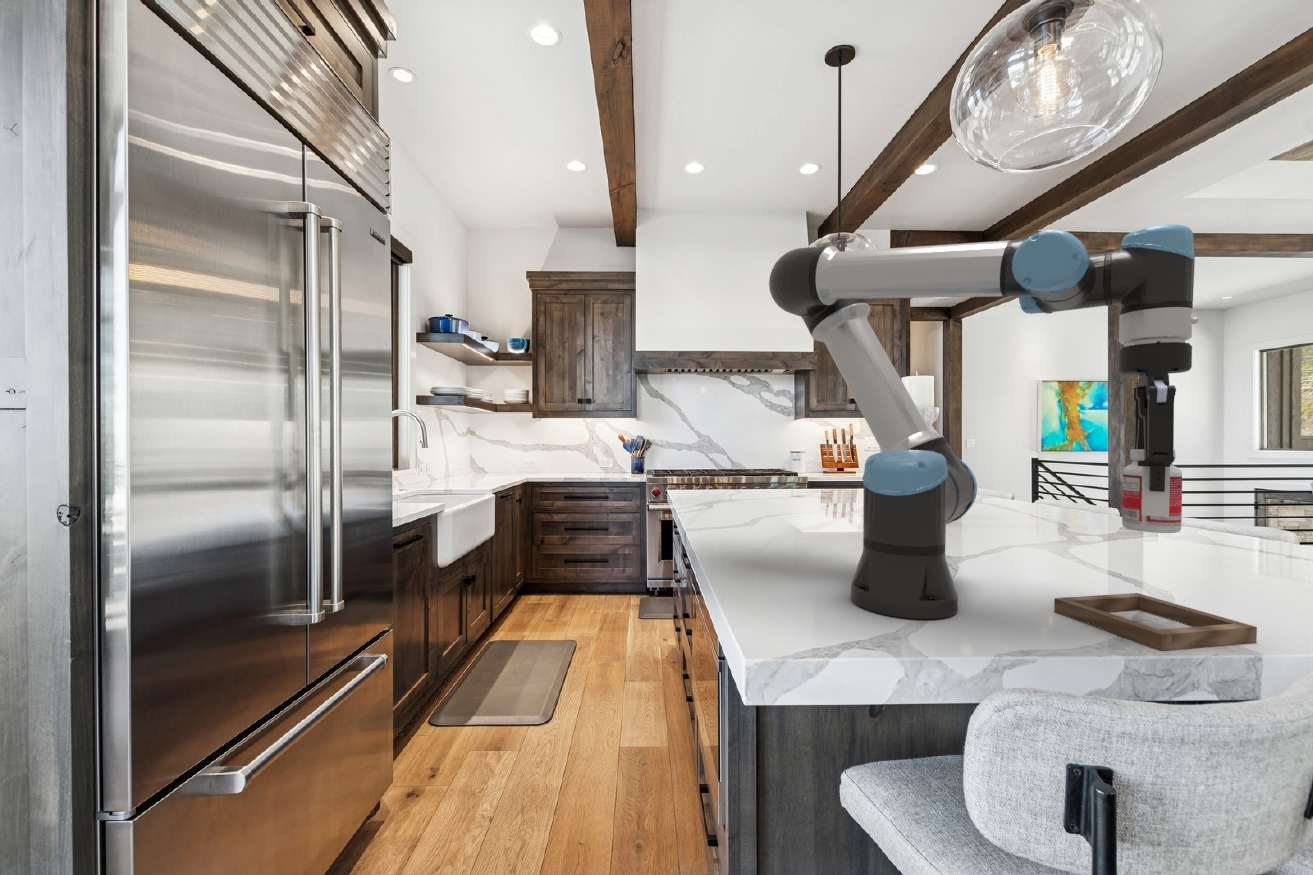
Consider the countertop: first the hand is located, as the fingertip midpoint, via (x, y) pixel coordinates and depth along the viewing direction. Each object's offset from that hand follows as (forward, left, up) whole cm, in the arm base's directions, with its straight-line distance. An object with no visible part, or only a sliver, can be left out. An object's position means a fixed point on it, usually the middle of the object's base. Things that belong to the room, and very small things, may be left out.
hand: (1150, 512), depth 79 cm
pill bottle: (0, 0, -3) cm, 3 cm away
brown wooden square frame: (0, 0, -16) cm, 16 cm away
